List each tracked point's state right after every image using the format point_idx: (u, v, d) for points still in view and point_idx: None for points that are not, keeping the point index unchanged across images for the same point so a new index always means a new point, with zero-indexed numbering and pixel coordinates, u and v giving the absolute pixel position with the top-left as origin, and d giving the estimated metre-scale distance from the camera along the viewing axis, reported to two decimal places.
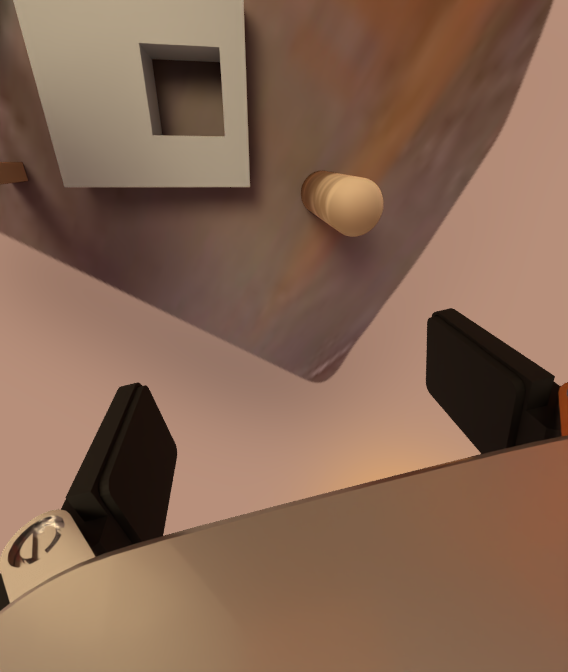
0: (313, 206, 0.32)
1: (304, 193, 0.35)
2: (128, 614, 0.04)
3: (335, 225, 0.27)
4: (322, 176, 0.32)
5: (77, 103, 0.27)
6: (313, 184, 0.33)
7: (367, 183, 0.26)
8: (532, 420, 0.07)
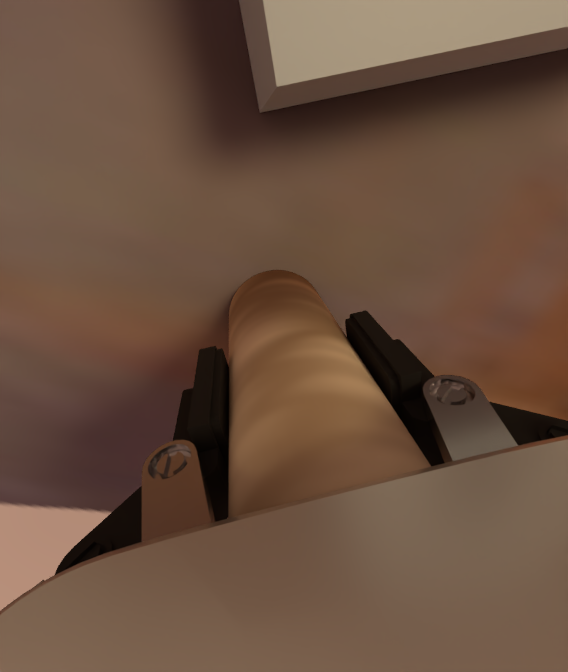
0: (265, 339, 0.10)
1: (273, 284, 0.13)
2: (128, 614, 0.04)
3: None
4: (341, 331, 0.11)
5: None
6: (315, 311, 0.11)
7: None
8: (405, 410, 0.08)
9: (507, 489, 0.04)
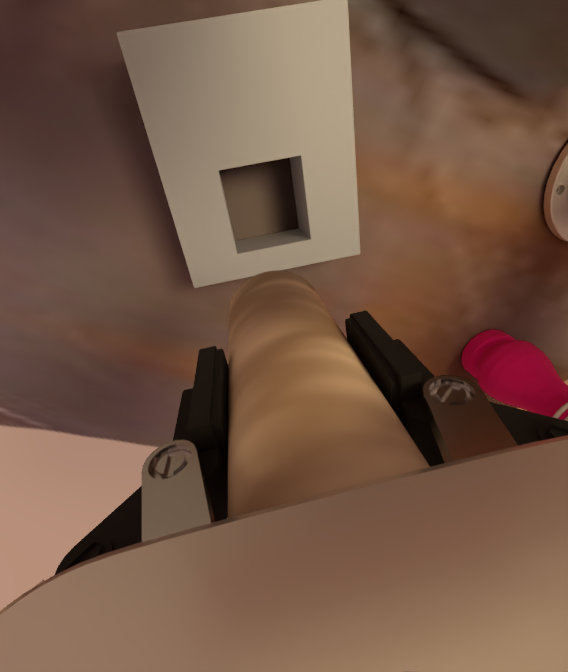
0: (264, 339, 0.10)
1: (273, 284, 0.13)
2: (128, 614, 0.04)
3: None
4: (341, 332, 0.11)
5: (229, 71, 0.21)
6: (314, 312, 0.11)
7: None
8: (405, 410, 0.08)
9: (507, 489, 0.04)
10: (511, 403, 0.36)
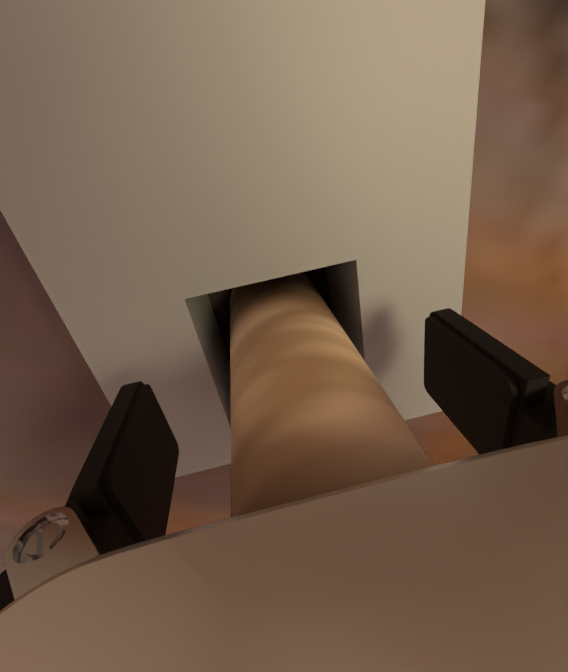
0: (262, 317, 0.11)
1: None
2: (128, 614, 0.04)
3: (261, 491, 0.06)
4: (331, 312, 0.13)
5: (194, 95, 0.09)
6: (307, 295, 0.13)
7: None
8: (528, 419, 0.07)
9: (507, 489, 0.04)
10: None
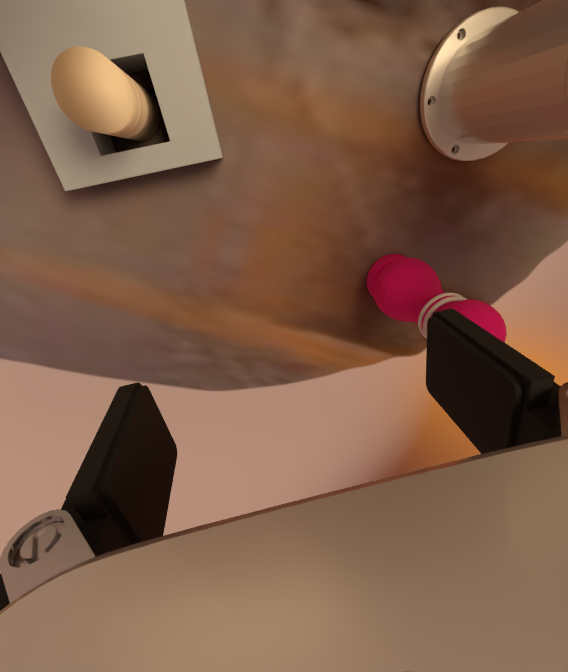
0: None
1: None
2: (128, 614, 0.04)
3: (56, 63, 0.20)
4: (139, 85, 0.27)
5: None
6: None
7: (122, 98, 0.22)
8: (532, 420, 0.07)
9: (507, 489, 0.04)
10: (399, 316, 0.37)
